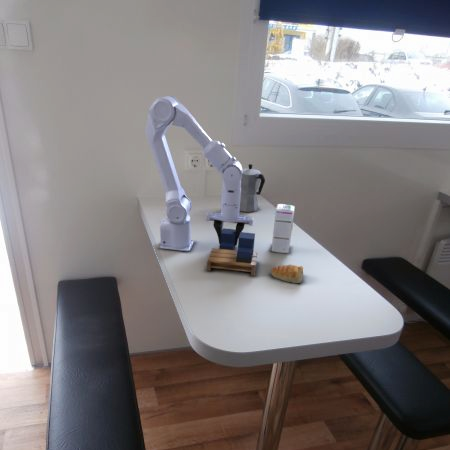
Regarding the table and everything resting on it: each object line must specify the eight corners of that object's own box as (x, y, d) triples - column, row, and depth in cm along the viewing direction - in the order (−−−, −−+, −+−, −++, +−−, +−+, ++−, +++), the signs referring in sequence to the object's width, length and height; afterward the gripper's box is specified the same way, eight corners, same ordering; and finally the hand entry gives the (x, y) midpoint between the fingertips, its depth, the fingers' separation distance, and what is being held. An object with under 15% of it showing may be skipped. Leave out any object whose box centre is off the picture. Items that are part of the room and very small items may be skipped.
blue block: (222, 246, 135) (223, 228, 131) (235, 248, 134) (236, 229, 131) (218, 255, 129) (219, 236, 125) (232, 256, 128) (233, 237, 125)
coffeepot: (228, 205, 171) (231, 161, 162) (245, 202, 176) (249, 159, 167) (252, 216, 161) (256, 170, 152) (269, 212, 166) (274, 167, 157)
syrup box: (288, 253, 133) (294, 210, 125) (270, 251, 133) (275, 208, 126) (289, 246, 137) (295, 205, 130) (272, 244, 138) (277, 203, 131)
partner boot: (238, 251, 123) (240, 231, 120) (253, 253, 123) (255, 233, 120) (236, 261, 117) (237, 240, 114) (251, 263, 117) (253, 242, 114)
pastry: (269, 280, 116) (270, 268, 114) (271, 269, 122) (273, 258, 120) (301, 284, 115) (304, 272, 113) (303, 274, 121) (305, 262, 119)
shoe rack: (206, 270, 119) (207, 260, 117) (212, 258, 127) (212, 247, 125) (254, 276, 118) (255, 265, 116) (256, 263, 126) (257, 252, 124)
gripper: (255, 201, 127) (251, 241, 134) (209, 196, 129) (208, 236, 136) (253, 208, 121) (249, 249, 128) (205, 203, 123) (204, 245, 130)
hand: (228, 243), depth 132 cm, fingers closed on blue block, 4 cm apart
